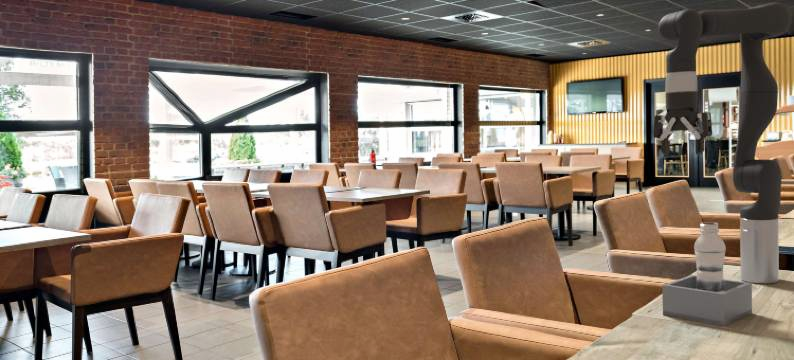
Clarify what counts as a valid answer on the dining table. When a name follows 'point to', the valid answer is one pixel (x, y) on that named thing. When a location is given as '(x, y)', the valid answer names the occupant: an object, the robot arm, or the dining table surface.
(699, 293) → the box
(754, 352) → the dining table surface
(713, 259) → the plastic bottle
